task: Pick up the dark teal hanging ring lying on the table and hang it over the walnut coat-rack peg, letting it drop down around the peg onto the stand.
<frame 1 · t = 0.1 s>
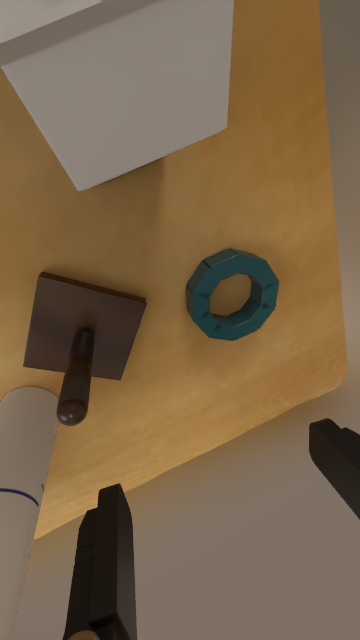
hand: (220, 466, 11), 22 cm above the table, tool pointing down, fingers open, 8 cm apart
ring: (227, 292, 33), on the table
milk carton: (113, 126, 23), on the table
rack: (85, 328, 31), on the table
cylindrical container: (31, 407, 34), on the table
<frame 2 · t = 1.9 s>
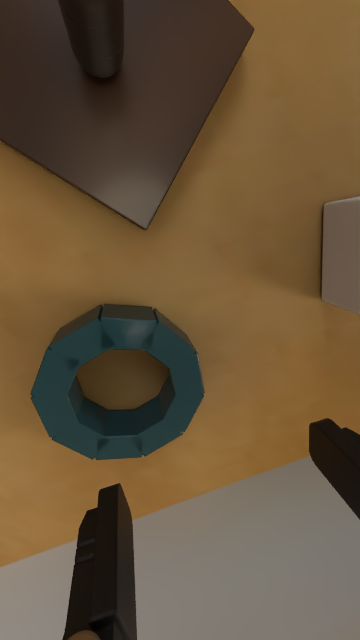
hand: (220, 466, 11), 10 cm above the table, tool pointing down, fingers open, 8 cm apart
ring: (123, 373, 19), on the table
rack: (102, 75, 14), on the table
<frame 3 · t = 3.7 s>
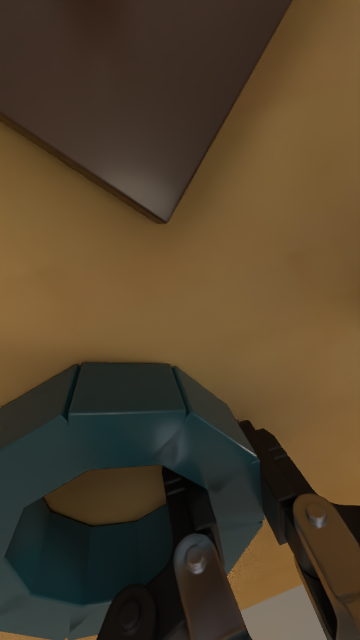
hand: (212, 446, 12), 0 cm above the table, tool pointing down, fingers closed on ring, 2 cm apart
ring: (119, 470, 11), on the table, touching gripper
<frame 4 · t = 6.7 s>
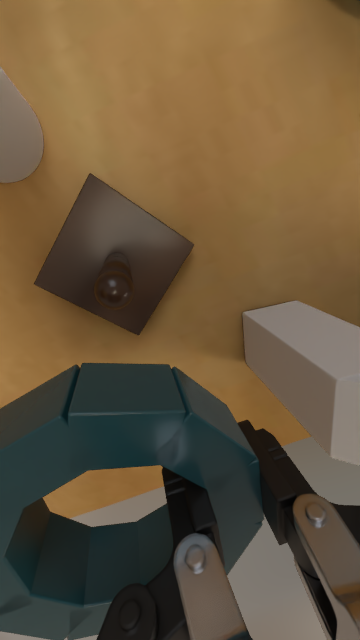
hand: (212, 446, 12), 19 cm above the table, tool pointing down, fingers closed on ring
ring: (118, 470, 11), point 19 cm above the table, touching gripper
milk carton: (268, 331, 33), on the table
rack: (117, 261, 26), on the table
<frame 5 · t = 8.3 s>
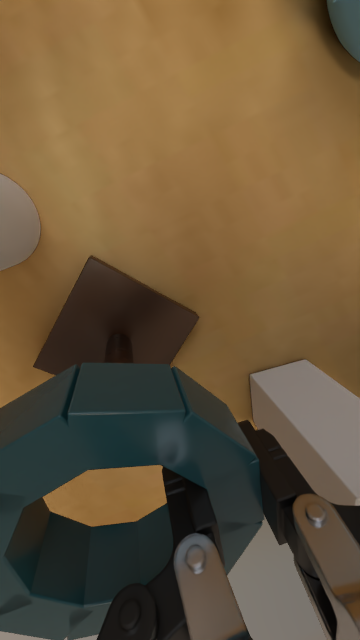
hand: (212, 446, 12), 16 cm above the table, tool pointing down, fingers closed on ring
ring: (118, 470, 11), point 15 cm above the table, touching gripper
milk carton: (277, 389, 32), on the table
rack: (119, 334, 25), on the table
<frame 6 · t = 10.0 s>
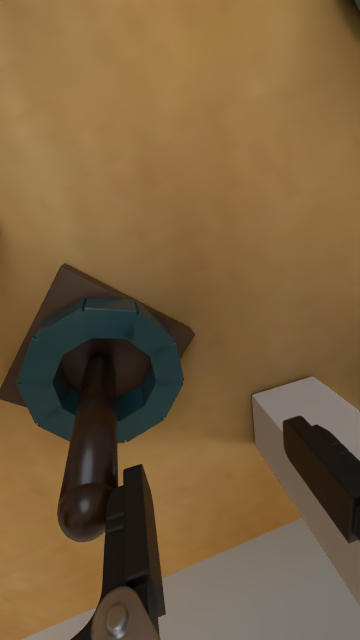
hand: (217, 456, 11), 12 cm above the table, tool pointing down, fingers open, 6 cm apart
ring: (107, 363, 20), point 1 cm above the table, touching rack
milk carton: (281, 409, 29), on the table
rack: (101, 355, 22), on the table
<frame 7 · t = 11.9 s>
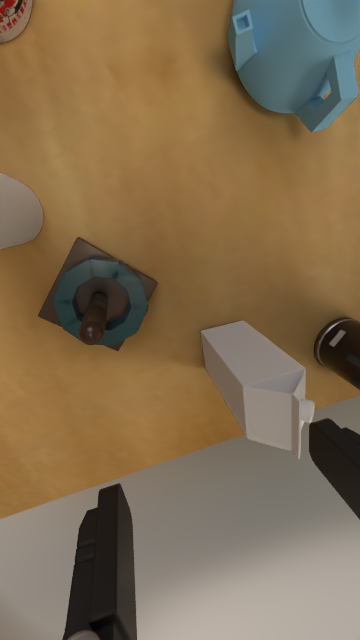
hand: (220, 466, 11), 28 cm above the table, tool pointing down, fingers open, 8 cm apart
ring: (103, 298, 34), point 1 cm above the table, touching rack
teapot: (280, 43, 30), on the table
milk carton: (223, 344, 42), on the table
rack: (100, 296, 35), on the table
cylindrical container: (9, 212, 30), on the table
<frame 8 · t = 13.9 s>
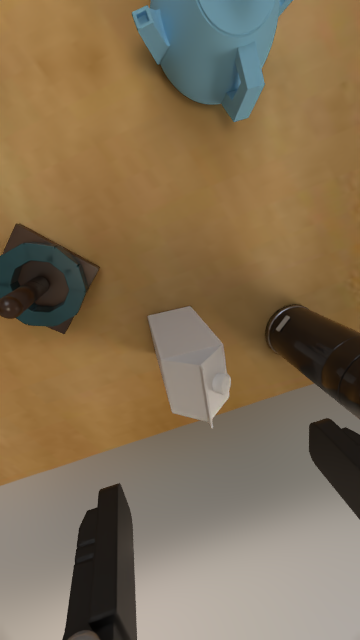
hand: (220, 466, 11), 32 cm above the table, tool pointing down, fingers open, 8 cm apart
ring: (46, 282, 36), point 1 cm above the table, touching rack
teapot: (205, 38, 32), on the table
milk carton: (172, 329, 44), on the table
rack: (45, 281, 37), on the table
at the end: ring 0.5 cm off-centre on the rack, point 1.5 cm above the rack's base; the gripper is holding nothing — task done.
